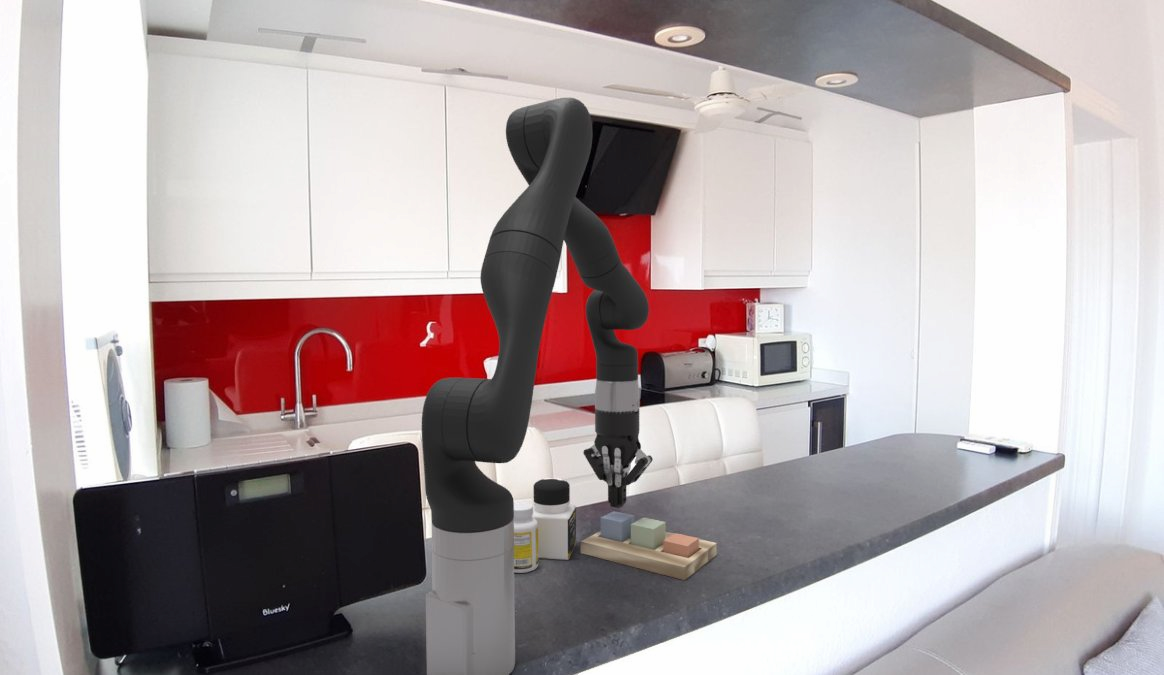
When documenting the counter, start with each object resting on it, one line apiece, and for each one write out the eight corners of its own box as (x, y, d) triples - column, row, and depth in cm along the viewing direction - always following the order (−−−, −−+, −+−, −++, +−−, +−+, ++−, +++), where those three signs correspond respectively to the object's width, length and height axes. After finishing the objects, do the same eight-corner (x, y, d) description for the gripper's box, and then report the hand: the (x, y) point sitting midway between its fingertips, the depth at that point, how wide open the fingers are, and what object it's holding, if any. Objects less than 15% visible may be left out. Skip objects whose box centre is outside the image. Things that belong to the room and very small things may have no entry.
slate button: (621, 542, 110) (621, 522, 110) (600, 537, 112) (600, 517, 112) (634, 535, 113) (634, 515, 113) (613, 530, 116) (613, 511, 115)
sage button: (653, 550, 106) (653, 529, 106) (630, 545, 109) (630, 524, 109) (665, 542, 110) (665, 522, 110) (643, 537, 112) (643, 517, 112)
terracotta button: (687, 568, 103) (687, 546, 103) (663, 562, 105) (663, 540, 105) (698, 559, 106) (698, 538, 106) (675, 553, 109) (675, 533, 109)
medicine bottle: (568, 560, 107) (568, 487, 106) (526, 558, 108) (525, 485, 107) (576, 544, 114) (576, 476, 113) (536, 542, 115) (535, 474, 114)
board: (684, 580, 99) (684, 567, 99) (580, 553, 110) (580, 541, 110) (716, 554, 109) (716, 543, 109) (618, 532, 120) (618, 521, 120)
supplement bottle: (521, 557, 108) (520, 498, 107) (545, 566, 105) (545, 505, 104) (496, 568, 104) (496, 506, 103) (521, 577, 100) (520, 513, 100)
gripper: (572, 405, 112) (573, 505, 113) (640, 413, 105) (640, 520, 106) (596, 399, 118) (597, 494, 119) (662, 406, 111) (662, 507, 112)
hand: (617, 506), depth 113 cm, fingers closed
